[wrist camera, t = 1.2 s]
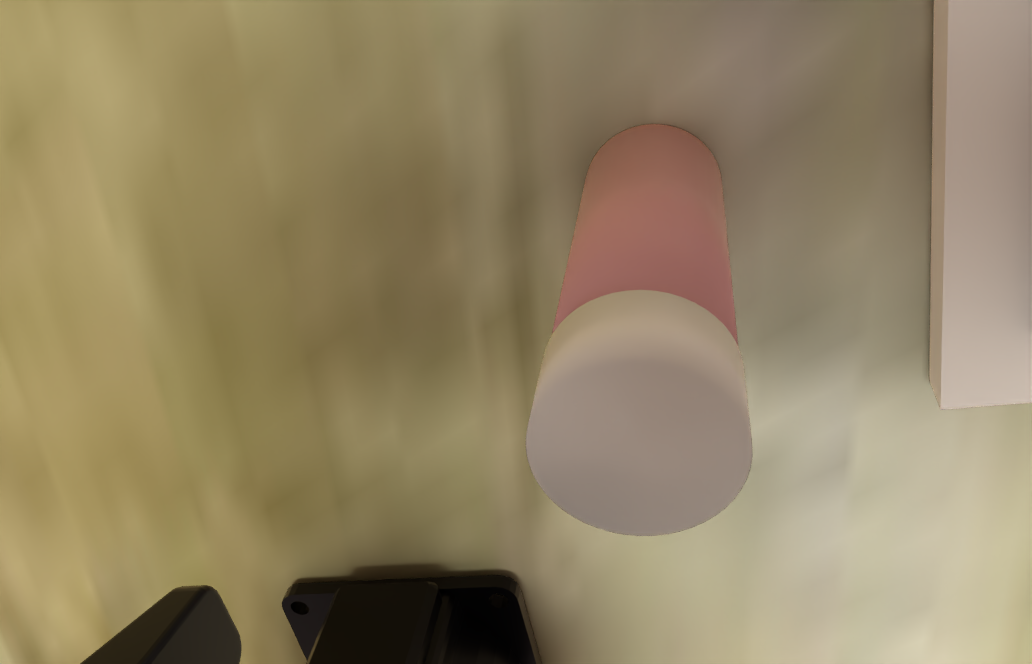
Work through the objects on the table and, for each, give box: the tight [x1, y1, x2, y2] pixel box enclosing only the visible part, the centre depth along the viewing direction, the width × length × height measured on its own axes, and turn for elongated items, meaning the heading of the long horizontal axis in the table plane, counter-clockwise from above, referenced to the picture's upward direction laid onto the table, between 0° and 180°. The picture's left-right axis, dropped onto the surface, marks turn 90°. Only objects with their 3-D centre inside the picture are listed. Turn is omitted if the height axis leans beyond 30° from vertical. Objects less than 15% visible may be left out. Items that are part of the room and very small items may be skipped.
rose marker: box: [526, 124, 752, 536], centre depth 15 cm, size 3×3×8 cm
